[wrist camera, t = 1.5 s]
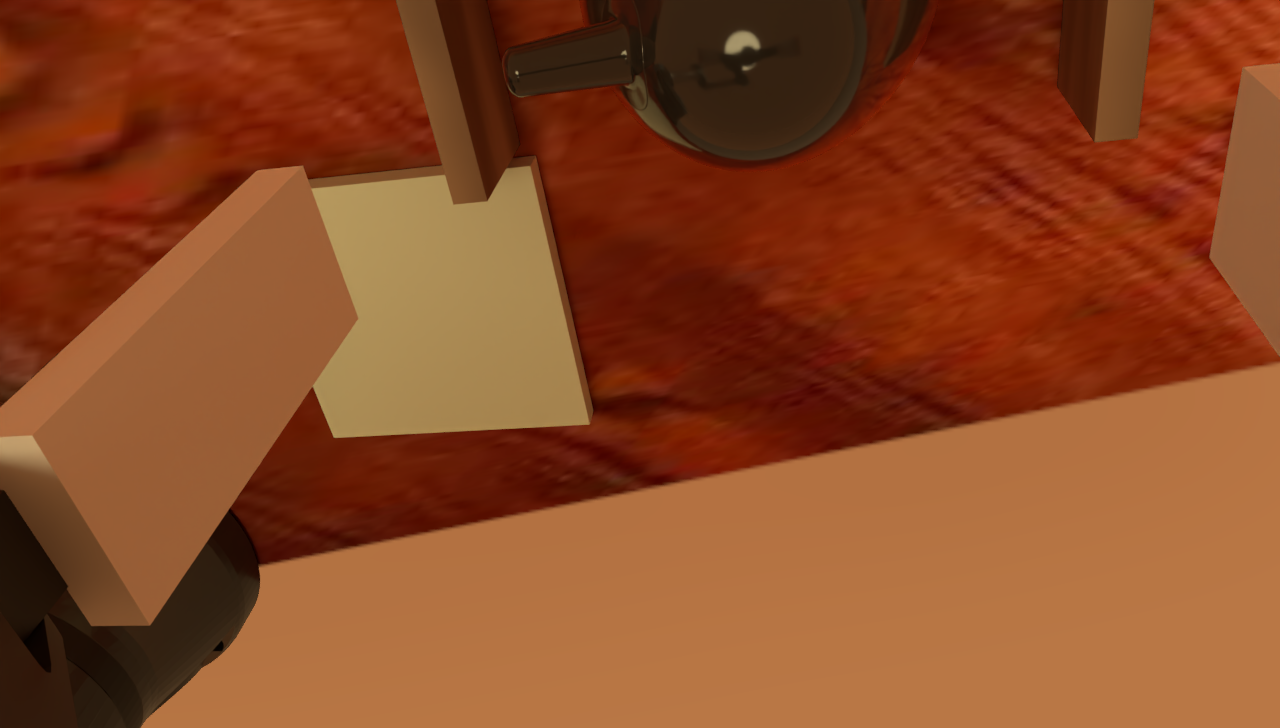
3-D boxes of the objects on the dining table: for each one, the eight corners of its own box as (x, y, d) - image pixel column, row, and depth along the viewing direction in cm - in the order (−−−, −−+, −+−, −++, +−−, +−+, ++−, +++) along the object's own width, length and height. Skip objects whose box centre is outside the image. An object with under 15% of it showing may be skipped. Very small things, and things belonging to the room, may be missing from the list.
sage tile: (341, 424, 46) (333, 437, 46) (246, 185, 40) (235, 196, 39) (593, 410, 44) (589, 424, 43) (536, 155, 38) (530, 166, 37)
